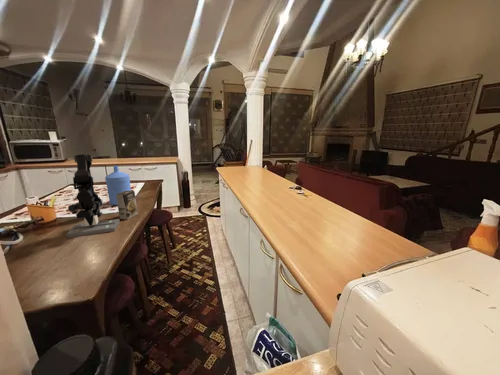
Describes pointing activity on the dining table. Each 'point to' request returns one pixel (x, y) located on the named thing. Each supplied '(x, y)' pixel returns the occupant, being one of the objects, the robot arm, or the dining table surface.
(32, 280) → the dining table surface
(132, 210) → the coffee box
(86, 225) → the fader knob
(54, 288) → the dining table surface
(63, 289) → the dining table surface
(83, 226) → the console board
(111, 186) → the water jug
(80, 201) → the robot arm
